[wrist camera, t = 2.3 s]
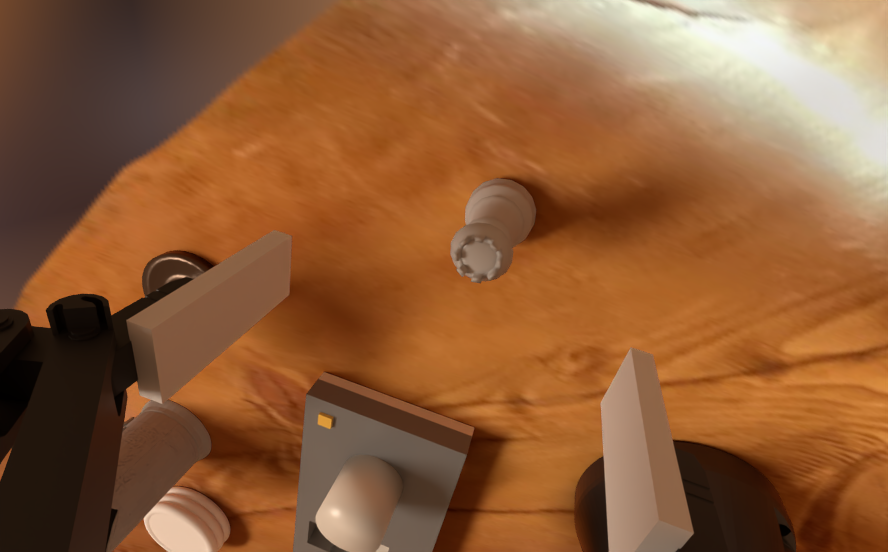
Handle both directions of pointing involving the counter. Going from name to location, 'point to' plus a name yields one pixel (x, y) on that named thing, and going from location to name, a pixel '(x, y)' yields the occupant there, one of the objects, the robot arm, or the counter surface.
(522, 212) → the rook chess piece
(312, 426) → the grey panel with recess
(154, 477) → the glass holder
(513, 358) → the counter surface
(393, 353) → the counter surface
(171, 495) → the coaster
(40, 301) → the counter surface
